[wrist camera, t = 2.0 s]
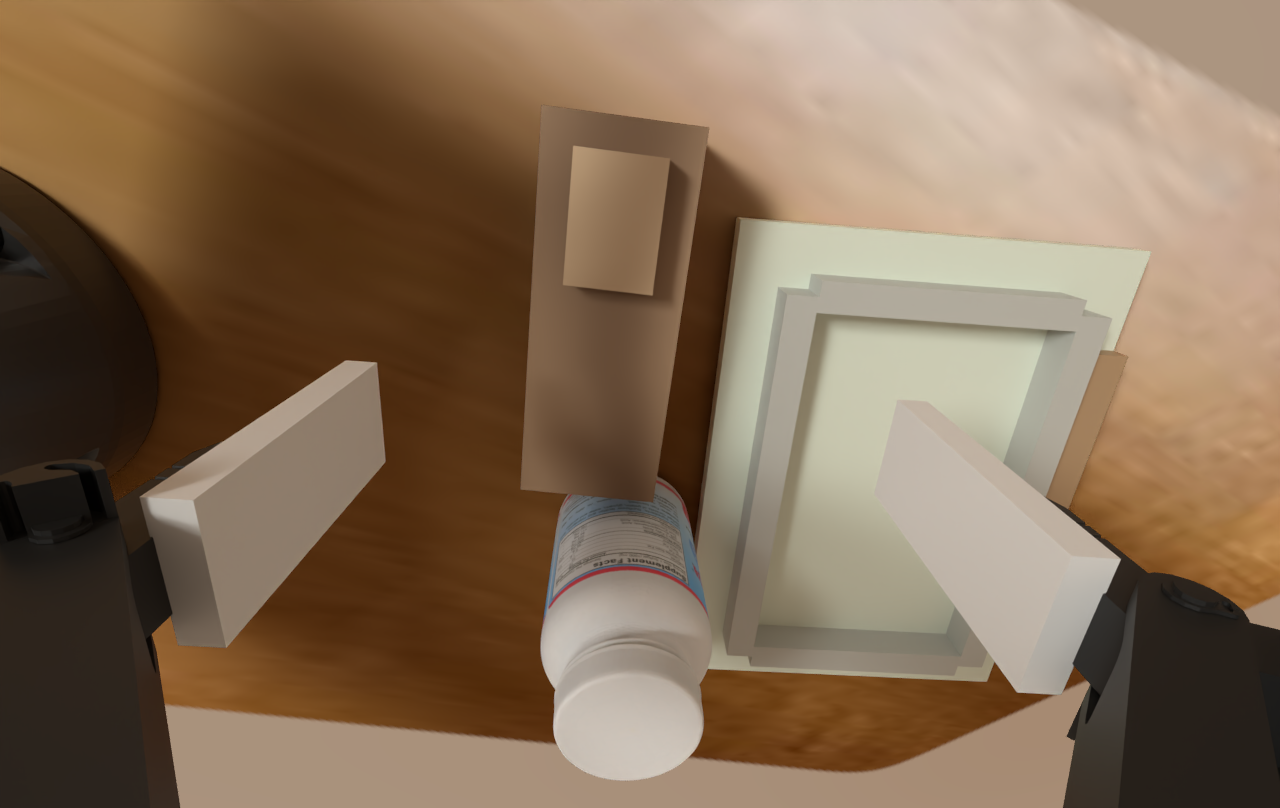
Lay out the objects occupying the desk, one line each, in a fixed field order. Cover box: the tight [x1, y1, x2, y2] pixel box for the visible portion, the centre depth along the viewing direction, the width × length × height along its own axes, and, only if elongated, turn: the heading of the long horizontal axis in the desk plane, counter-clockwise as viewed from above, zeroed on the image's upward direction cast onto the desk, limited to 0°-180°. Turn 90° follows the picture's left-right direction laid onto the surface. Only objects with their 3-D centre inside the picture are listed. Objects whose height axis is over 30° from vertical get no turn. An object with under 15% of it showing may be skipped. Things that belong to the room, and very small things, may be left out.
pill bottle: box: [541, 476, 712, 781], centre depth 23 cm, size 6×6×11 cm
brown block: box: [520, 105, 709, 502], centre depth 22 cm, size 5×13×6 cm, turn 173°
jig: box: [694, 217, 1151, 682], centre depth 27 cm, size 16×22×2 cm
